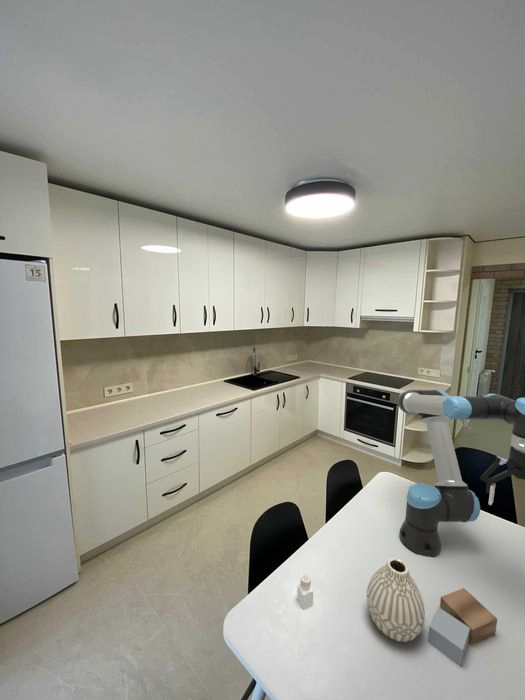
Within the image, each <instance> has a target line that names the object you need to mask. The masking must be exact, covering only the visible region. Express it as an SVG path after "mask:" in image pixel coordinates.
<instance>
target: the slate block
mask: <svg viewBox="0 0 525 700" xmlns="http://www.w3.org/2000/svg"><path fill="white" fill-rule="evenodd" d="M469 633H470V628H469V627H468V626H466V625H465V624H463V623H462V622H460V621H459V620H457V619H456V618H454V617H453V616H451V615H450V614H448V613H447V612H445V611H444V610H442V609H441V608H440V606H437V609H436V611H435V613H434V614H433V617H432V619H431V622H430V624H429V626H428V636H427V642H428V644H430V645H431V646H433V647H434V648H435V649H436V650H438V651H440V653H443V654H444V655H445V656H446V657H448V659H450V660H451V661H453V662H454V663H455V664H457V665H458V666H459V667H460V668H461V666H462V663H463V660H464V658H465V655H466V651H467V648H468V645H469V644H468V641H469Z"/></svg>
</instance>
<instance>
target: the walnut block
mask: <svg viewBox="0 0 525 700" xmlns="http://www.w3.org/2000/svg"><path fill="white" fill-rule="evenodd" d="M439 608H441V609H442V610H444V611H445V612H447V613H448V614H450V615H451V616H453V617H454V618H456V619H457V620H459V621H460V622H462V623H463V624H465V625H466V626H468V627H469V628H470V633H469V641H468V645H469V646H470V647H473V646H475V645H477V644H479V643H482V642H483V641H486V640H488V639H489V638H491V637H493V636H496V632H497V623H498V617H496V616H495V615H494V614H493V613H492V612H491V611H490V610H489V609H487V607H485V606H484V604H483V603H481V602H480V601H479V600H478V599H477V598H476V597H475V596H473V595H472V593H471V592H469V591H468V590H467V589H466V588H464V587H463V588H460V589H458V590H457V589H456V590H455V591H453V592H450V593H448V594H445V595H443V596H440V603H439Z"/></svg>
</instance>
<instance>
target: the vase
mask: <svg viewBox="0 0 525 700" xmlns="http://www.w3.org/2000/svg"><path fill="white" fill-rule="evenodd" d="M408 567H409V566H408V565H407V564H406V563H405V562H404V561H403V560H401V559H399V558H396V557H391V558H389V559H388V560H387V562H386V563H385V565H383V566H381V567H380V568H379V569H377V570H376V571H375V572H374V573H373V574H372V576H371V577H370V580H369V582H368V583H367V587H366V602H367V603H366V604H367V608H368V612H369V615H370V617H371V619H372V620H373V622H374V624H375V626H376V627H377V629H379V631H381V632H382V633H383V634H384V635H385V636H387V637H388V638H390V639H391V640H394V641H396V642H402V643H406V642H410V641H413V640H414V639H416V638H417V637H418V636H419V635H420V634H421V632H422V630H423V628H424V624H425V619H426V609H425V604H424V600H423V596H422V594H421V591H420V589H419V587H418V585H417V584H416V582H415V580H414V578H413V577H412V576H411V574H410V570H409V568H408Z"/></svg>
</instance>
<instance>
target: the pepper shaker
mask: <svg viewBox="0 0 525 700" xmlns="http://www.w3.org/2000/svg"><path fill="white" fill-rule="evenodd" d="M311 581H312V580H311V576H310V574H308V573H302V574H301V576H300V582H299V583H298V584H297V586H296V587H297V591H296V593H297V594H296V600H297V602H298V603H299V606H300V607H301V609H302V610H305V609H307V608H311V607H312V606H313V605H314V588H313V587H312V585H311V583H312V582H311Z"/></svg>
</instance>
